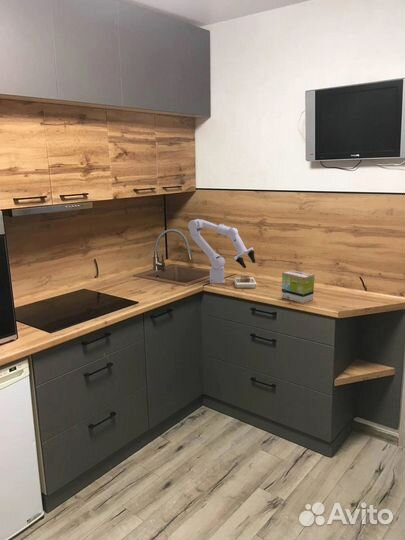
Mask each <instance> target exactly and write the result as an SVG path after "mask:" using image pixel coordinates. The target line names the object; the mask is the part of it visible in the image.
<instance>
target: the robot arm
mask: <svg viewBox="0 0 405 540" xmlns="http://www.w3.org/2000/svg"><path fill="white" fill-rule="evenodd" d="M202 228H206V229H210V230H213V231H216V233H217V234H220V235H223V236H226V237H227V238H228V239H230V241H231V242H232V244H233V246H234V248H235V250H236V252H237V255H236V256H234V257H233V260H234V261H235V262H236V263H238V264H239V265H240V266H241V267H242V268H243V269H246V268H247V265H246V263H245V261H244V257H243V256H244V255H247V256H248V257H249V259H250V260H251V262H252V264H255V263H256V259H255V249H254V248H253V246H252V247H250V248H248V249H247V247H246V246H245V244H244V242H243V240H242V238H241V237H240V234H239V230H238V229H237V228H236V227H231V226H227V225H225V224H224V223H220V224H214V223H212V222H211V221H208V220H205V219H201V218H196V219H191V220H189V222H188V225H187V229H188V230H189V234H190V236H191V239H192V240H193V241H194V242H195V243H196V245H197V247H199V248H200V249H201V251H203V252H204V254H205V255H206V256H207V258H208V259H209V263H210V264H211V267H212V268H209V278H208V279H209V284H214V283H215V284H217V283H218V284H219V283H223V284H224V283H226V282H225V265H226V259H225V258H224V257H223V256H221V255H220V254H219V253H216V251H215V250H214V249H213V248H212V247H211V246H210V245H209V243H208V242H207V241H206V239H204V237H203V236H202V235H201V231H202Z"/></svg>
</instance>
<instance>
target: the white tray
mask: <svg viewBox="0 0 405 540" xmlns="http://www.w3.org/2000/svg"><path fill="white" fill-rule="evenodd" d="M249 278H250V283H241V276H240V277H236V276H235V277H234V285H235V288H236V289H237V288H247V289H248V288H250V289H251V288H253V289H254V288H257V284H258V283H257V282H256V280H255V278H254V276H253V277H250V276H249Z"/></svg>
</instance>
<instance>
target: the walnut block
mask: <svg viewBox="0 0 405 540" xmlns="http://www.w3.org/2000/svg"><path fill="white" fill-rule="evenodd" d="M240 277H241V283H250V278H249V277H250V275H240Z"/></svg>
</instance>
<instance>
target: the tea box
mask: <svg viewBox="0 0 405 540" xmlns="http://www.w3.org/2000/svg"><path fill="white" fill-rule="evenodd" d="M281 274H282V277H281V299H287V300H290V301H294V302H298V303H301V304H305V303H307V302H310V301H313V300H314V291H315V289H314V288H315V274H312V273H308V272H304V271H299V270H298V271H297V270H294V269H291V270H289V271H285V272H282V273H281Z"/></svg>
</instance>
